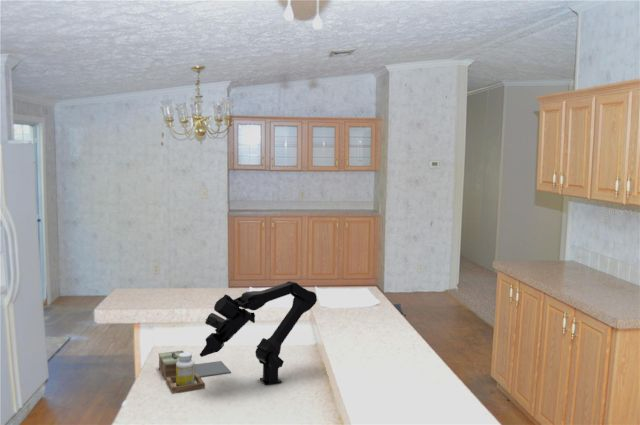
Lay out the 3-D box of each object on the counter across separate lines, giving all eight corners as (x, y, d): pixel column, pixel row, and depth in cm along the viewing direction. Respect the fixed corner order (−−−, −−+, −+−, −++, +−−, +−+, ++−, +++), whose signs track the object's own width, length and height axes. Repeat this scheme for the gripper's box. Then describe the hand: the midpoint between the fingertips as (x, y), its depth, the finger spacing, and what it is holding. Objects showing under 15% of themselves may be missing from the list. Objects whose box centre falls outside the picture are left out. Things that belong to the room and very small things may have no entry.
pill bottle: (185, 381, 202) (185, 350, 201) (198, 384, 198) (198, 353, 198) (172, 386, 196) (172, 355, 195) (185, 390, 193) (185, 358, 192)
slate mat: (231, 373, 211) (231, 371, 211) (195, 378, 205) (195, 376, 205) (221, 362, 223) (221, 360, 223) (186, 366, 217) (186, 365, 217)
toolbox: (204, 388, 194) (204, 369, 194) (172, 393, 189) (172, 373, 189) (187, 364, 219) (187, 347, 219) (158, 368, 214) (158, 350, 214)
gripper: (226, 301, 203) (197, 328, 205) (211, 312, 185) (180, 343, 187) (246, 322, 203) (217, 350, 205) (234, 336, 185) (202, 366, 186)
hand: (204, 351), depth 196 cm, fingers open, 9 cm apart
